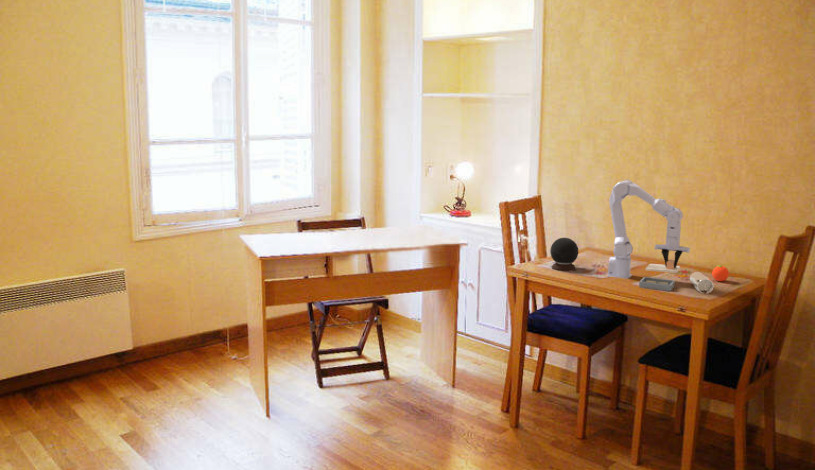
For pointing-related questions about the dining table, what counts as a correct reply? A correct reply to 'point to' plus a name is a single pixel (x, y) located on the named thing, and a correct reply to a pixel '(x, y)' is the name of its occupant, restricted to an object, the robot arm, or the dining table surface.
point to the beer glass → (701, 282)
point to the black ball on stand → (564, 254)
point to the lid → (663, 267)
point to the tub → (657, 286)
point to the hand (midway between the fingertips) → (670, 266)
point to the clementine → (720, 273)
